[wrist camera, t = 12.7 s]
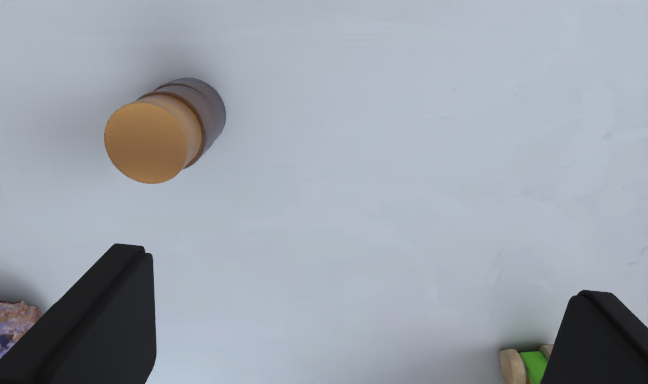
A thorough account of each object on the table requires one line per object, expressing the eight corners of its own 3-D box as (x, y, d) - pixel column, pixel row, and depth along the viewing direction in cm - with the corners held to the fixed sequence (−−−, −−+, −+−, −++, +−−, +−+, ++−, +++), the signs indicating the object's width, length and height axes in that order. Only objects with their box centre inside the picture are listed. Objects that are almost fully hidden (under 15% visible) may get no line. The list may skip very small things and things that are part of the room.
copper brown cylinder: (123, 90, 30) (100, 98, 27) (201, 98, 30) (187, 107, 27) (128, 164, 32) (106, 179, 29) (201, 172, 32) (187, 187, 29)
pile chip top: (141, 80, 33) (122, 87, 30) (218, 89, 33) (207, 95, 30) (144, 154, 35) (127, 167, 32) (217, 161, 35) (206, 175, 32)
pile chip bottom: (156, 74, 36) (140, 79, 33) (226, 81, 36) (217, 87, 33) (158, 142, 38) (143, 153, 35) (225, 149, 38) (215, 160, 35)
